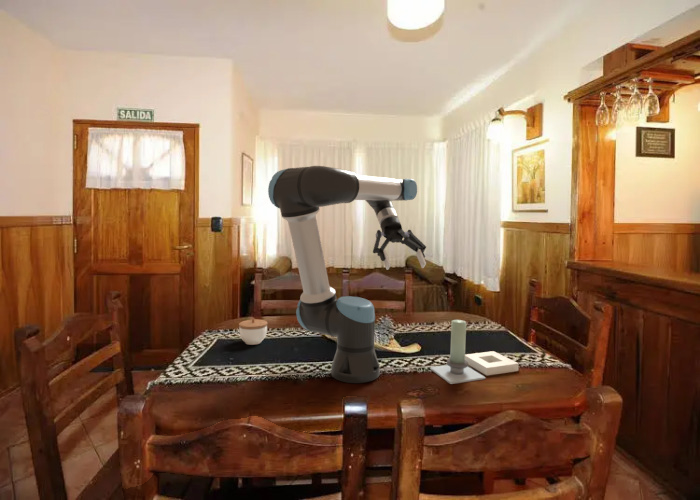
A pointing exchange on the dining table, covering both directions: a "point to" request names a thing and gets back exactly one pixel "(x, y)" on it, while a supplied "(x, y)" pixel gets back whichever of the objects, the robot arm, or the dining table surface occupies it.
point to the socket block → (486, 367)
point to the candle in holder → (457, 347)
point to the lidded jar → (253, 331)
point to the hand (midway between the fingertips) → (406, 266)
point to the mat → (454, 378)
